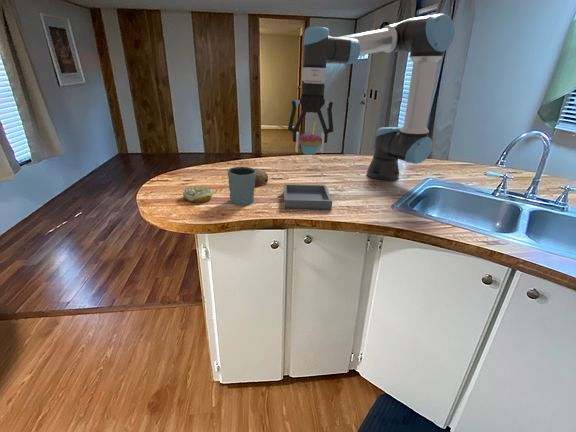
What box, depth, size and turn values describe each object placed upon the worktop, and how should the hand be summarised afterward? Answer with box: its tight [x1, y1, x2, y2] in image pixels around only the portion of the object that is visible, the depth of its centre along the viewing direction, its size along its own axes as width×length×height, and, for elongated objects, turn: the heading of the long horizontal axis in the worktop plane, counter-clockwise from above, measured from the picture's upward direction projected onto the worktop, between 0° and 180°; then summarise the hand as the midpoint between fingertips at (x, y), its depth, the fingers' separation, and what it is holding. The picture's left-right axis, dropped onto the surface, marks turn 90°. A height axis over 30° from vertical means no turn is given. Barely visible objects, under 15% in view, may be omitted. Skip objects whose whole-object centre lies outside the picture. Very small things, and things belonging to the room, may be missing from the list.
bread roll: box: [254, 168, 269, 187], centre depth 135 cm, size 10×10×8 cm
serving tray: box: [283, 183, 333, 211], centre depth 117 cm, size 17×17×4 cm
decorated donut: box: [182, 185, 213, 204], centre depth 116 cm, size 10×11×4 cm
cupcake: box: [298, 119, 322, 156], centre depth 108 cm, size 9×8×12 cm
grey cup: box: [227, 166, 256, 207], centre depth 113 cm, size 10×10×12 cm
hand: (309, 151), depth 110 cm, fingers closed on cupcake, 8 cm apart
